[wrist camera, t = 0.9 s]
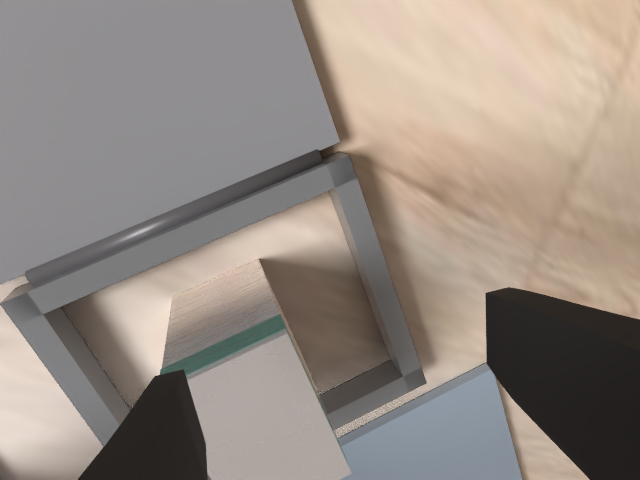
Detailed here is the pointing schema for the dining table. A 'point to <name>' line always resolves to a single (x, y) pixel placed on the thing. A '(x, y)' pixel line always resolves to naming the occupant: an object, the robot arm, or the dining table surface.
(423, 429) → the pad
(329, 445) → the block
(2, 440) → the dining table surface
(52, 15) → the hinged gray frame
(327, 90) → the dining table surface
